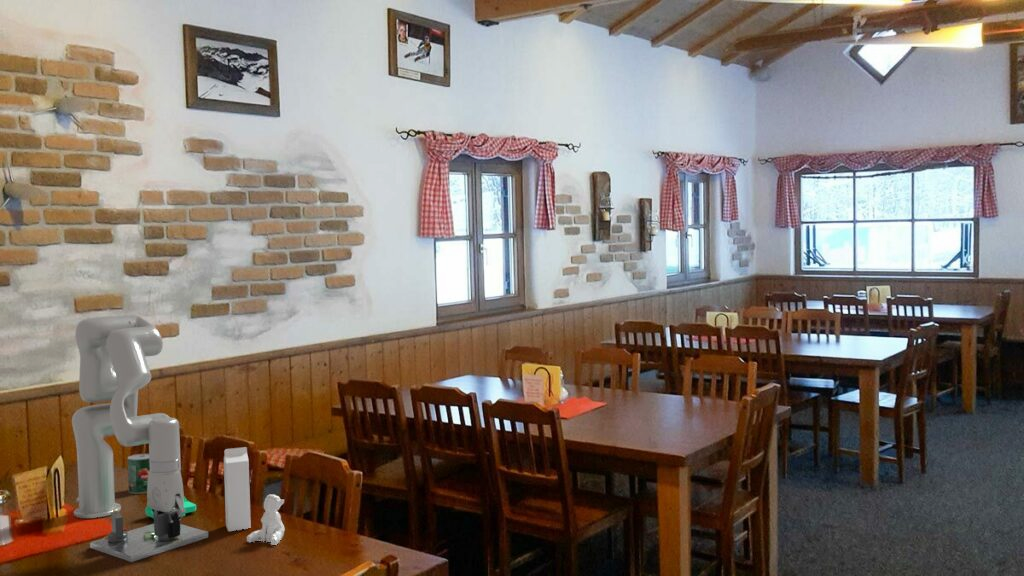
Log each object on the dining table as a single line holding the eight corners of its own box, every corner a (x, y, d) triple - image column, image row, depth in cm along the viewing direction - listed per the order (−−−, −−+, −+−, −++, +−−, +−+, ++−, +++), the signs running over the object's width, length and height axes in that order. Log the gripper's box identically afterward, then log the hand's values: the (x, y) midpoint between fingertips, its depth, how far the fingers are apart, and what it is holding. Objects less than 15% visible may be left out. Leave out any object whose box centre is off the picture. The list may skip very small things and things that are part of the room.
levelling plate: (90, 547, 231) (89, 538, 231) (166, 525, 249) (166, 516, 249) (131, 562, 220) (131, 552, 220) (208, 537, 238) (207, 528, 238)
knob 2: (151, 539, 232) (150, 512, 232) (173, 532, 237) (172, 506, 237) (162, 543, 229) (161, 515, 229) (184, 536, 234) (183, 509, 234)
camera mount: (156, 523, 251) (155, 487, 251) (145, 518, 257) (144, 482, 256) (197, 514, 260) (196, 479, 259) (185, 508, 265) (184, 474, 265)
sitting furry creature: (245, 543, 233) (243, 497, 232) (265, 532, 241) (264, 489, 240) (275, 546, 230) (273, 500, 229) (295, 536, 238) (293, 492, 237)
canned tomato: (149, 493, 282) (147, 459, 281) (124, 494, 282) (122, 459, 281) (159, 486, 290) (158, 453, 289) (135, 487, 290) (133, 453, 289)
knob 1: (109, 544, 228) (108, 517, 228) (105, 538, 234) (104, 511, 233) (130, 541, 231) (128, 514, 231) (125, 534, 236) (124, 508, 236)
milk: (250, 528, 245) (248, 449, 243) (227, 532, 242) (225, 451, 241) (248, 522, 250) (245, 444, 249) (225, 525, 248) (223, 447, 247)
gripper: (133, 464, 234) (136, 533, 235) (171, 473, 224) (174, 544, 225) (159, 458, 240) (161, 525, 241) (197, 467, 230) (200, 536, 231)
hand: (167, 534), depth 233 cm, fingers closed on knob 2, 4 cm apart
